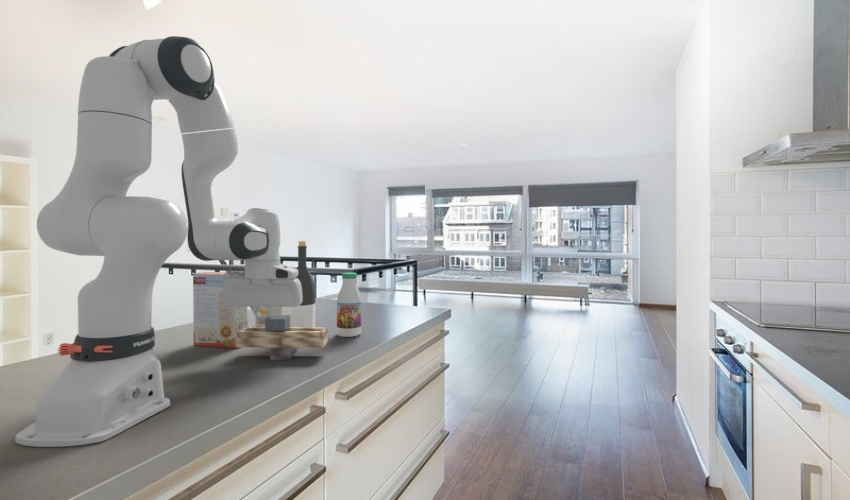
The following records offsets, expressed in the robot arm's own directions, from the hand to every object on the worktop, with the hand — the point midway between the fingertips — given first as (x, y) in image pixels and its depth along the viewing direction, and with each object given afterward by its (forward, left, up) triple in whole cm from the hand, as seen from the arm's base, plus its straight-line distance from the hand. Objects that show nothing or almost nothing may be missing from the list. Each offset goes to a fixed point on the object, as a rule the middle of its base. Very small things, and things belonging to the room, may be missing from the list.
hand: (262, 323), depth 115 cm
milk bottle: (+24, -19, -9) cm, 32 cm away
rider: (0, -4, -3) cm, 5 cm away
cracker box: (+11, +16, -9) cm, 21 cm away
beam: (0, -5, -9) cm, 10 cm away
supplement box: (+29, +8, -9) cm, 31 cm away
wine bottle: (+20, -5, -9) cm, 22 cm away
